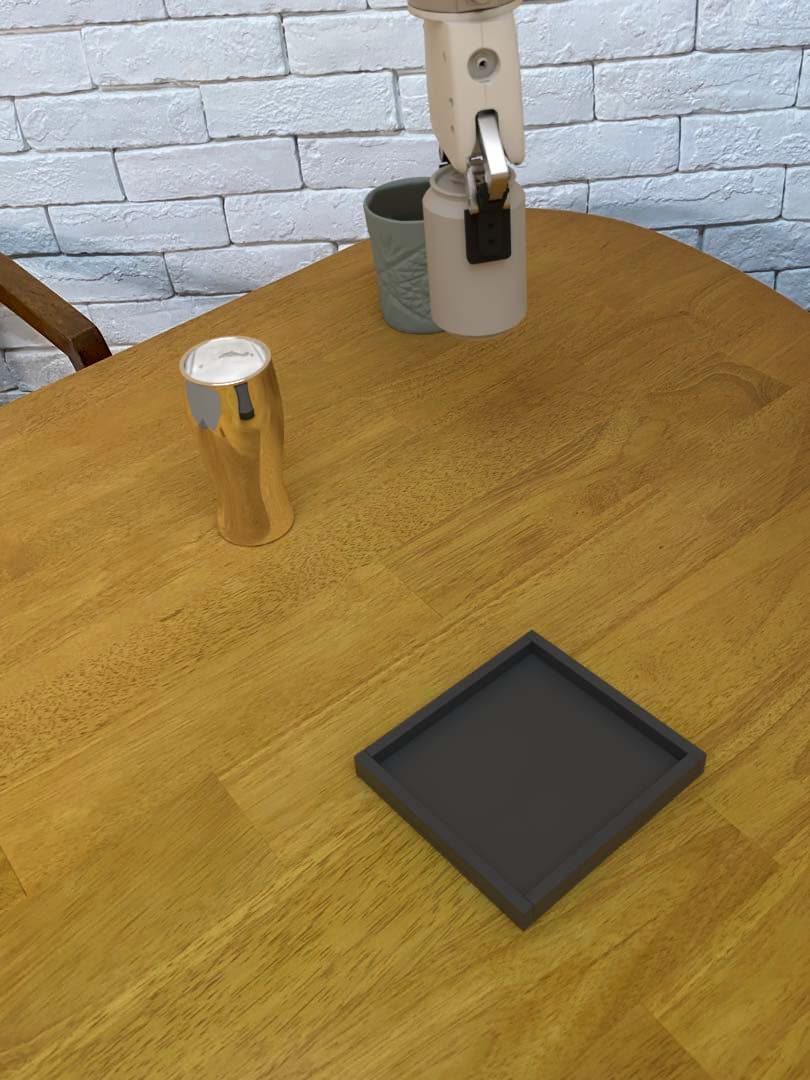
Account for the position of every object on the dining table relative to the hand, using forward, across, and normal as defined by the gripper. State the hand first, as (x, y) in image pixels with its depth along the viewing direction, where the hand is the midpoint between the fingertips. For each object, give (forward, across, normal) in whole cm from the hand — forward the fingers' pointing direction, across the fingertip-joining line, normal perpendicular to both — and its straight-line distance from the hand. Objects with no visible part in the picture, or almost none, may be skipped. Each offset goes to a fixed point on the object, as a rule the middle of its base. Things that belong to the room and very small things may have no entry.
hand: (475, 234), depth 84 cm
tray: (+19, -35, +6) cm, 40 cm away
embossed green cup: (+18, +22, +1) cm, 29 cm away
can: (+8, 0, 0) cm, 8 cm away
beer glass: (+18, -6, +20) cm, 28 cm away
